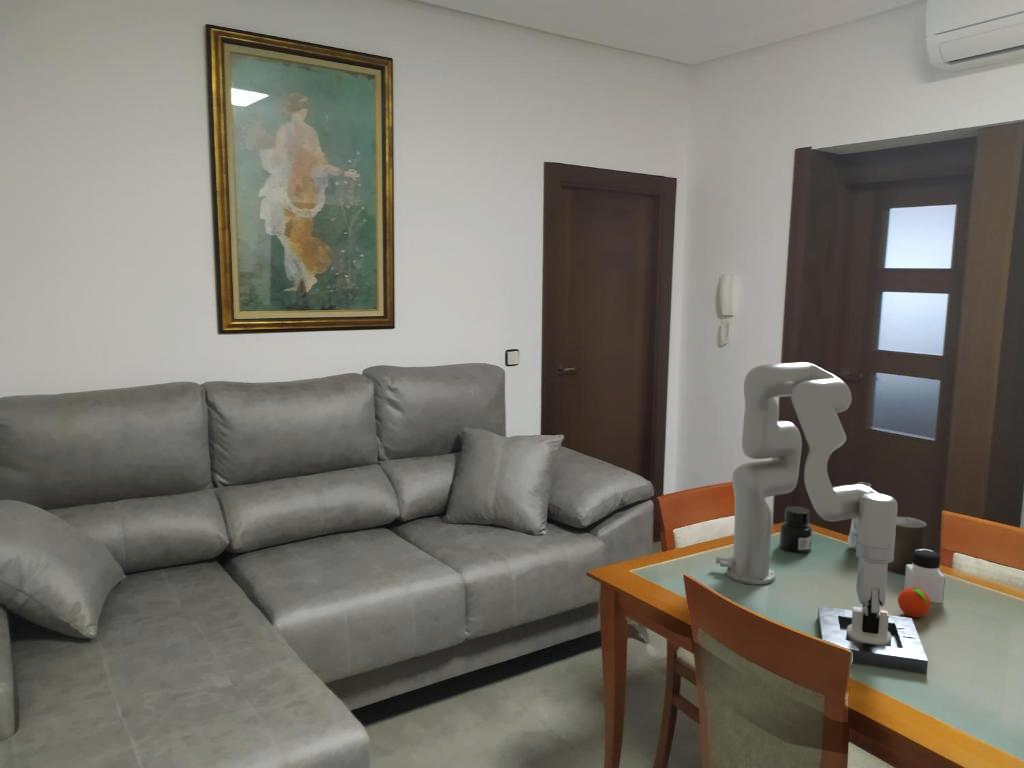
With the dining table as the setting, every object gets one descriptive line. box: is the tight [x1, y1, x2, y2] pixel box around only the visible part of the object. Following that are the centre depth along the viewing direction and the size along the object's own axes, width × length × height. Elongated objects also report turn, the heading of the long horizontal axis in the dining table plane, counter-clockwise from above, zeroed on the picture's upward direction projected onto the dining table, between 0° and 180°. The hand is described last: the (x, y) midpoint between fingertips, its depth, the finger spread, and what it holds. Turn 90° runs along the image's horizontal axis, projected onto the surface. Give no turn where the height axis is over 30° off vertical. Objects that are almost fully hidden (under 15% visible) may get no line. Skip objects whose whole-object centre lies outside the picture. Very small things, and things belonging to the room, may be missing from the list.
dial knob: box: [847, 606, 892, 646], centre depth 168 cm, size 9×9×7 cm
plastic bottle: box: [847, 482, 872, 551], centre depth 223 cm, size 6×7×20 cm
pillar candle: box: [887, 516, 928, 576], centre depth 209 cm, size 10×10×15 cm
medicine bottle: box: [903, 548, 946, 604], centre depth 192 cm, size 7×7×12 cm
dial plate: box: [817, 605, 929, 675], centre depth 169 cm, size 20×20×3 cm
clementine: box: [897, 587, 931, 618], centre depth 182 cm, size 8×7×7 cm
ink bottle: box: [779, 505, 813, 554], centre depth 225 cm, size 10×9×12 cm
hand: (869, 628), depth 169 cm, fingers closed on dial knob, 2 cm apart
